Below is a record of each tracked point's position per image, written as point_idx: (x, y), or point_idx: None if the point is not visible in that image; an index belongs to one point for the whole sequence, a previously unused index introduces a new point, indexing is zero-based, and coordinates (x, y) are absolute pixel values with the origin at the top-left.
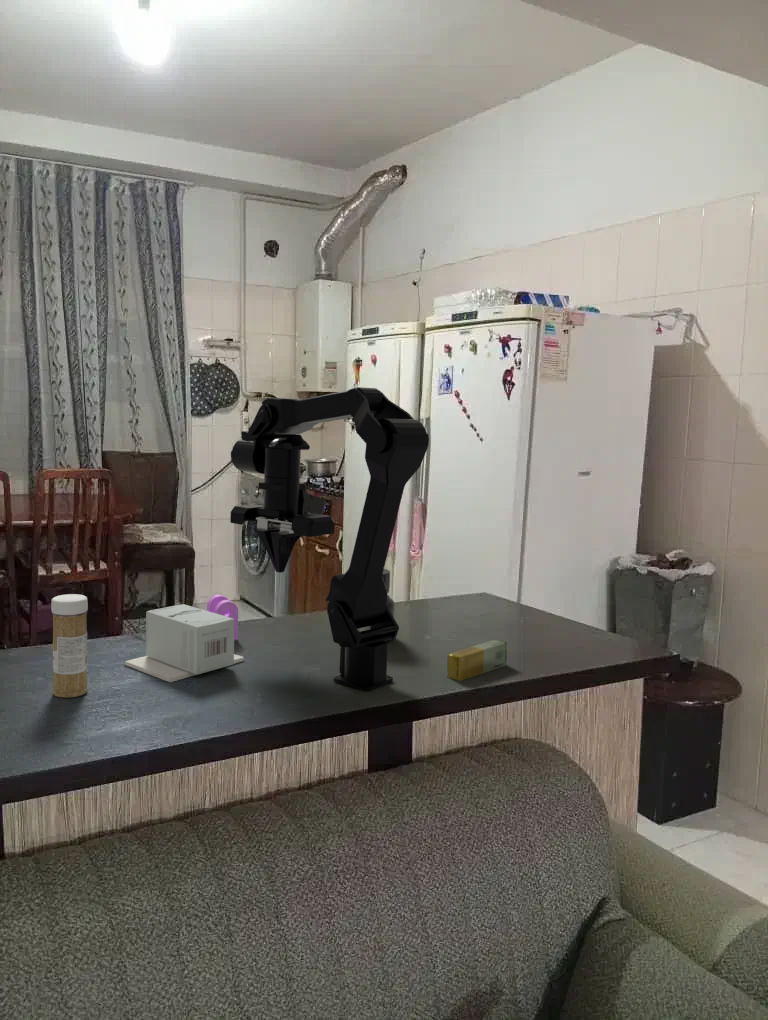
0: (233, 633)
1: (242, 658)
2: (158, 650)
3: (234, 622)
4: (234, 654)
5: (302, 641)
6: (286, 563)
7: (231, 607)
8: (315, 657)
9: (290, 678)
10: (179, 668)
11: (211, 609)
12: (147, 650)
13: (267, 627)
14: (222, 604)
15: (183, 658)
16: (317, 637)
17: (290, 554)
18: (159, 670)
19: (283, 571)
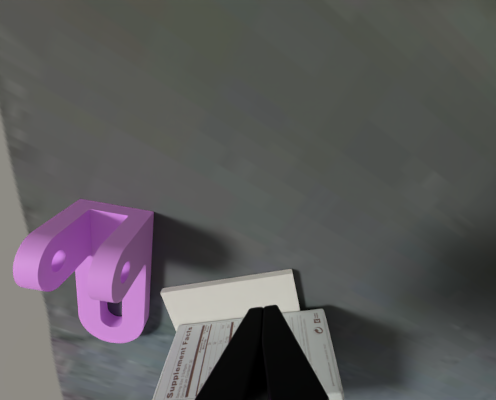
0: (336, 362)
1: (292, 275)
2: None
3: (137, 240)
4: (267, 279)
5: (239, 85)
6: (296, 340)
7: (119, 271)
8: (369, 136)
9: (436, 252)
10: None
11: (63, 276)
12: None
13: (77, 96)
14: (114, 300)
15: None
16: (227, 20)
17: (322, 386)
18: None
19: (277, 307)
